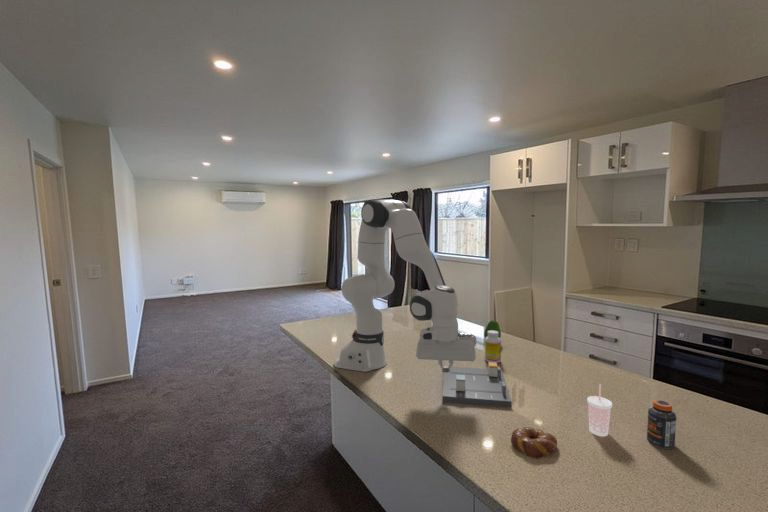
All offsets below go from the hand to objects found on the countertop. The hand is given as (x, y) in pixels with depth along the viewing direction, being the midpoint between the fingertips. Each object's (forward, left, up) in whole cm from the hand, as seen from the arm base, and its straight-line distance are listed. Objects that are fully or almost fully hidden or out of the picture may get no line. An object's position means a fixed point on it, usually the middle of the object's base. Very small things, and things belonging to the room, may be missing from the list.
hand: (446, 372), depth 124 cm
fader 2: (+17, +14, -6) cm, 23 cm away
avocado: (+21, +58, -8) cm, 63 cm away
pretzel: (+24, -26, -9) cm, 36 cm away
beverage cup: (+43, -16, -8) cm, 46 cm away
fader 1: (+5, 0, -6) cm, 7 cm away
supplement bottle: (+19, +35, -8) cm, 41 cm away
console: (+10, +7, -8) cm, 15 cm away
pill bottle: (+57, -19, -8) cm, 61 cm away
